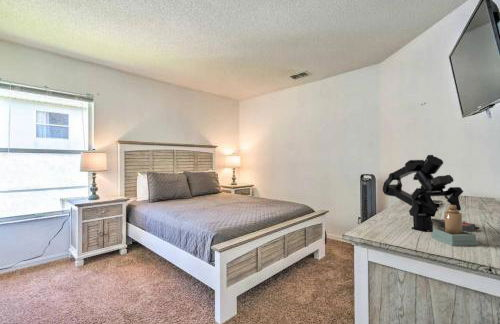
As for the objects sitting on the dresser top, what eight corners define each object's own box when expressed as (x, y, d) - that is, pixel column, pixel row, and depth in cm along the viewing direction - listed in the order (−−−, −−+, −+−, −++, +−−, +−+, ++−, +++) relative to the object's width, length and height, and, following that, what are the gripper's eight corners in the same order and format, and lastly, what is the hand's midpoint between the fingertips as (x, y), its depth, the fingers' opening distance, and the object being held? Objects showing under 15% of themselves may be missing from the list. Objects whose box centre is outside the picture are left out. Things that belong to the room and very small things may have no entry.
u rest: (431, 237, 101) (431, 228, 101) (455, 237, 101) (455, 228, 101) (452, 245, 91) (451, 235, 91) (478, 245, 91) (478, 235, 91)
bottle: (445, 238, 95) (444, 205, 95) (444, 235, 99) (443, 203, 99) (463, 241, 92) (462, 206, 92) (461, 237, 96) (460, 204, 96)
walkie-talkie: (482, 230, 110) (433, 221, 128) (481, 220, 110) (432, 213, 128) (472, 233, 106) (423, 223, 124) (471, 223, 106) (422, 215, 124)
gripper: (415, 169, 103) (435, 199, 92) (458, 168, 103) (484, 197, 92) (403, 186, 111) (421, 215, 100) (444, 185, 111) (466, 214, 100)
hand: (448, 210), depth 98 cm, fingers open, 9 cm apart
